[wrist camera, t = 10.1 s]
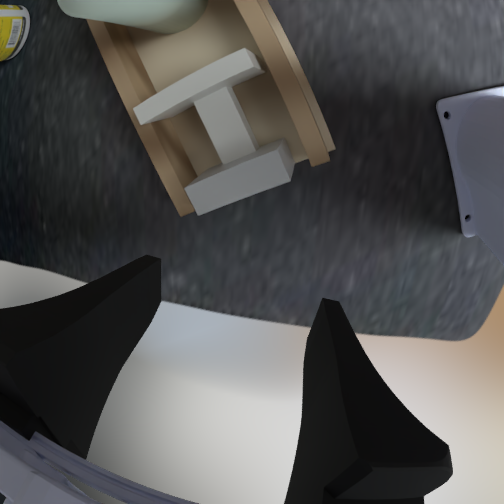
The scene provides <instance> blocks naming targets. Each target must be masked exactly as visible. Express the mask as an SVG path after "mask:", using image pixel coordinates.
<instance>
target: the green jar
mask: <svg viewBox="0 0 504 504" xmlns="http://www.w3.org/2000/svg"><path fill="white" fill-rule="evenodd" d="M57 1H58V4H59V6H60V8H61V9H62V11H63V12H64V13H66V14H67V15H69V16H72V17H76V18H84V19H91V20H98V21H104V22H110V23H115V24H121V25H126V26H131V27H135V28H140V29H144V30H149V31H153V32H157V33H161V34H174V33H178V32H181V31H184V30H186V29H188V28H189V27H191V26H192V25H193V24H195V23H196V22H197V21H198V20H199V19H200V17H201V16H202V15H203V13H204V12H205V9H206V7H207V4H208V0H57Z"/></svg>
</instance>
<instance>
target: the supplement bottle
mask: <svg viewBox="0 0 504 504" xmlns="http://www.w3.org/2000/svg"><path fill="white" fill-rule="evenodd" d="M29 28H30V16H29V12H28V10H27V9H26V8H25V7H23V6H19V5H0V61H4V60H9V59H11V58H13V57H14V56H15V55H16V54H17V53H18V52H19V51H20V50H21V48H22V47H23V45H24V43H25V41H26V39H27V36H28V32H29Z"/></svg>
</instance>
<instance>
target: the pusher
mask: <svg viewBox="0 0 504 504" xmlns="http://www.w3.org/2000/svg"><path fill="white" fill-rule="evenodd" d="M263 73H266V70H265V68H264V66H263V64H262V62H261V60H260V58H259V57H258V56H257V55H255V54H254V53H252V52H251V51H249V50H247V49H246V48H243V49H241V50H238V51H236V52H234V53H232V54H230V55H227V56H225V57H223V58H221V59H219V60H217V61H215V62H213V63H211V64H209V65H207V66H205V67H203V68H201V69H199V70H197V71H196V72H194V73H192V74H190V75H188V76H186V77H184V78H183V79H181V80H179V81H177V82H175V83H174V84H172V85H170V86H169V87H167V88H165V89H163V90H162V91H160V92H158V93H157V94H155V95H153V96H152V97H150V98H149V99H147V100H145V101H144V102H142V103H141V104H139V105H138V106H136V107H134V108H133V110H134V112H135V114H136V116H137V118H138V120H139V123H140V125H144V124H147V123H151V122H155V121H159V120H163V119H167V118H171V117H174V116H176V115H177V114H179V113H181V112H183V111H185V110H187V109H189V108H190V107H192V106H194V105H195V107H196V109H197V111H198V113H199V115H200V117H201V120H202V122H203V124H204V126H205V128H206V130H207V132H208V134H209V136H210V138H211V140H212V142H213V145H214V147H215V149H216V151H217V153H218V155H219V157H220V159H221V161H222V163H220V164H218V165H215V166H213V167H211V168H208V169H207V170H206V171H205V172H203V173H202V174H201V175H200V176H198V177H197V178H196V179H195V180H193V181H192V182H191V183H190V184H189V185H187V186H186V187H185V188H184V189H185V191H186V193H187V195H188V197H189V199H190V201H191V203H192V205H193V207H194V209H195V211H196V213H197V214H198V216H199V215H202V214H204V213H207V212H209V211H212V210H215V209H217V208H220V207H222V206H225V205H227V204H230V203H233V202H235V201H238V200H241V199H243V198H246V197H249V196H251V195H254V194H257V193H259V192H262V191H265V190H268V189H270V188H273V187H276V186H279V185H281V184H284V183H287V182H290V181H291V178H292V174H293V169H294V165H295V161H294V159H293V156H292V154H291V151H290V149H289V147H288V144H287V142H286V140H285V137H284V138H281V139H279V140H276V141H274V142H271V143H268V144H266V145H263V146H261V147H259V145H258V143H257V141H256V138H255V136H254V134H253V132H252V130H251V127H250V125H249V123H248V121H247V119H246V117H245V114H244V112H243V110H242V108H241V106H240V104H239V102H238V100H237V97H236V95H235V93H234V91H233V89H232V87H233V86H236V85H238V84H240V83H242V82H244V81H247V80H249V79H251V78H254V77H256V76H258V75H261V74H263Z"/></svg>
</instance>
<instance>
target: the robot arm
mask: <svg viewBox="0 0 504 504" xmlns="http://www.w3.org/2000/svg"><path fill="white" fill-rule="evenodd" d="M436 109H437V113H438V116H439V120H440V123H441V127H442V130H443V134H444V138H445V142H446V146H447V150H448V154H449V159H450V163H451V168H452V173H453V178H454V183H455V188H456V194H457V200H458V207H459V213H460V221H461V229H462V233H463V234H464V236H465V237H471V236H474V235H478V236H479V238H480V239H481V240H482V241H483V242H484V243H485V244H486V246H487V247H488V248H489V249H490V250H491V251H492V252H493V254H494V255H495V256H496V257H497V258H498V260H499V261H500V262H501V263H502V265H503V266H504V86H500V87H495V88H490V89H485V90H480V91H475V92H470V93H466V94H461V95H457V96H453V97H448V98H444V99H440V100H439V101H438V102H437V103H436ZM446 111H447V112H448V114H449V116H448V118H447V119H445V118H444V112H446ZM466 215H469V217H468V219H465V217H466ZM160 303H161V259H160V258H156V257H153V256H149V255H145V256H143V257H140V258H138V259H136V260H134V261H132V262H130V263H128V264H127V265H125V266H123V267H121V268H119V269H117V270H115V271H113V272H111V273H109V274H107V275H105V276H103V277H101V278H99V279H97V280H94V281H92V282H90V283H88V284H86V285H84V286H82V287H79V288H77V289H74V290H72V291H69V292H66V293H64V294H61V295H58V296H55V297H52V298H48V299H45V300H41V301H38V302H34V303H30V304H26V305H21V306H16V307H10V308H3V309H0V492H1V493H2V494H3V495H4V496H6V499H5V501H4V503H3V504H102V503H100V502H98V501H96V500H94V499H92V498H90V497H88V496H86V494H85V493H84V492H82V491H81V490H79V489H78V488H77V487H75V486H74V485H73V484H72V483H71V482H70V481H69V480H68V479H67V478H66V476H65V475H63V474H61V473H60V472H59V471H57V470H56V469H54V468H53V467H51V466H50V465H48V464H47V463H46V462H48V463H49V464H51V465H52V466H54V467H56V468H57V469H59V470H61V471H62V472H64V473H66V474H68V475H70V476H71V477H73V478H75V479H77V480H79V481H80V482H82V483H84V484H86V485H88V486H90V487H92V488H94V489H96V490H98V491H100V492H102V493H105V494H107V495H109V496H111V497H113V498H116V499H118V500H120V501H123V502H125V503H127V504H198V503H195V502H191V501H188V500H184V499H181V498H178V497H175V496H171V495H168V494H165V493H163V492H160V491H157V490H154V489H151V488H148V487H146V486H143V485H141V484H138V483H135V482H133V481H131V480H128V479H126V478H123V477H121V476H118V475H116V474H114V473H112V472H110V471H107V470H105V469H103V468H101V467H99V466H97V465H95V464H93V463H91V462H89V461H87V460H86V458H87V454H88V451H89V448H90V444H91V441H92V438H93V435H94V432H95V429H96V426H97V423H98V421H99V418H100V415H101V413H102V410H103V408H104V405H105V403H106V400H107V398H108V395H109V393H110V391H111V389H112V387H113V385H114V383H115V381H116V378H117V376H118V374H119V372H120V370H121V369H122V367H123V365H124V364H125V362H126V360H127V359H128V357H129V356H130V354H131V353H132V351H133V350H134V348H135V347H136V345H137V344H138V342H139V340H140V339H141V337H142V336H143V334H144V333H145V331H146V330H147V328H148V327H149V325H150V323H151V322H152V319H153V318H154V315H155V313H156V311H157V309H158V307H159V305H160ZM302 402H303V403H302V418H301V427H300V433H299V439H298V445H297V450H296V456H295V460H294V465H293V470H292V474H291V478H290V483H289V487H288V491H287V495H286V499H285V503H284V504H424V496H425V495H426V494H428V493H430V492H431V491H433V490H435V489H436V488H438V487H440V486H441V485H443V484H444V483H445V482H447V481H448V480H449V478H450V477H451V476H452V474H453V468H452V461H451V455H450V450H449V446H448V445H447V444H446V443H445V442H444V441H442V440H441V439H440V438H439V437H437V436H436V435H435V434H434V433H432V432H431V431H430V430H429V429H428V428H426V427H425V426H424V425H423V424H422V423H421V422H420V421H419V420H418V419H417V418H416V417H415V416H414V415H413V414H412V413H411V412H410V411H409V410H408V409H407V408H406V407H405V406H404V405H403V404H402V402H401V401H400V400H399V399H398V398H397V397H396V396H395V394H394V393H393V392H392V391H391V390H390V388H389V387H388V386H387V384H386V383H385V382H384V380H383V379H382V378H381V376H380V375H379V373H378V372H377V371H376V369H375V368H374V366H373V364H372V363H371V361H370V360H369V358H368V356H367V355H366V353H365V351H364V350H363V348H362V346H361V344H360V342H359V340H358V339H357V337H356V335H355V333H354V331H353V329H352V327H351V325H350V323H349V321H348V319H347V317H346V315H345V312H344V310H343V308H342V306H341V304H340V303H339V301H334V300H330V299H325V298H322V301H321V304H320V306H319V309H318V312H317V314H316V317H315V320H314V322H313V325H312V327H311V330H310V333H309V335H308V337H307V343H306V349H305V357H304V368H303V399H302ZM43 460H44V461H46V462H44V461H43Z"/></svg>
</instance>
